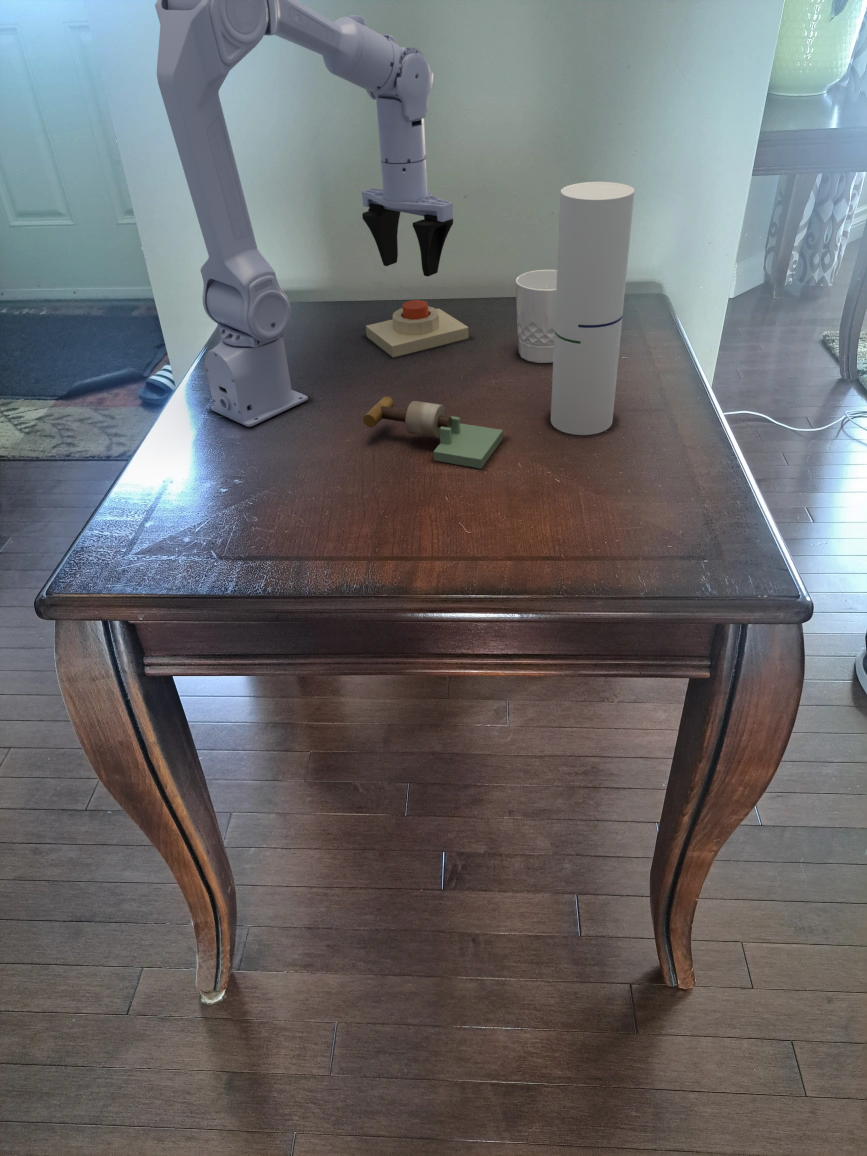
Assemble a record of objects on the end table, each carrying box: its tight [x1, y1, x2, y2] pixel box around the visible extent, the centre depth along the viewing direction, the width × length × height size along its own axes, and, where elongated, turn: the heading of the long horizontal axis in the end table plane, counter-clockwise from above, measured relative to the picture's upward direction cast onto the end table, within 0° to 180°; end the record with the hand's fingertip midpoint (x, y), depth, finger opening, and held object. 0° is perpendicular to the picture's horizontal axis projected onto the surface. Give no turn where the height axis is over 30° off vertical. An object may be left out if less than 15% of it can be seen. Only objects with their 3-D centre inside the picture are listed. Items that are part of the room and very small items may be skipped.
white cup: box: [515, 269, 557, 364], centre depth 109 cm, size 8×8×10 cm
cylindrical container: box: [550, 181, 635, 436], centre depth 89 cm, size 7×7×25 cm
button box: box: [365, 306, 470, 358], centre depth 118 cm, size 12×9×4 cm
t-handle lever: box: [362, 395, 452, 438], centre depth 93 cm, size 10×5×4 cm, turn 67°
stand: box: [433, 415, 504, 470], centre depth 92 cm, size 6×7×3 cm
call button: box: [401, 299, 429, 320], centre depth 117 cm, size 4×4×2 cm
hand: (410, 269), depth 113 cm, fingers open, 7 cm apart
